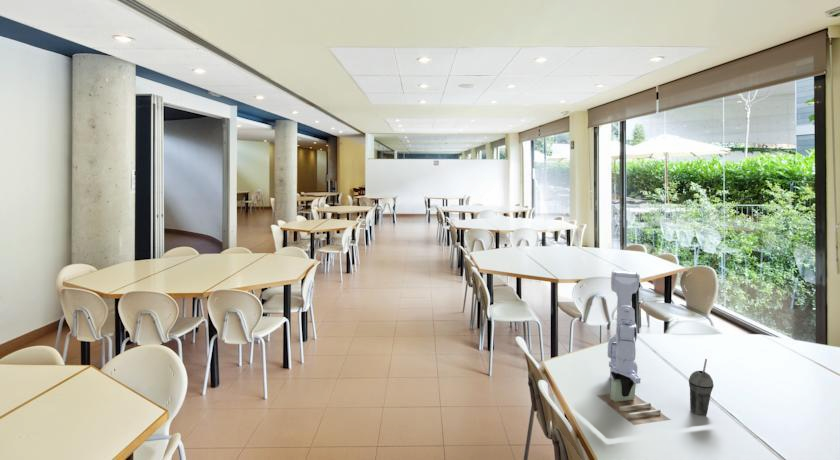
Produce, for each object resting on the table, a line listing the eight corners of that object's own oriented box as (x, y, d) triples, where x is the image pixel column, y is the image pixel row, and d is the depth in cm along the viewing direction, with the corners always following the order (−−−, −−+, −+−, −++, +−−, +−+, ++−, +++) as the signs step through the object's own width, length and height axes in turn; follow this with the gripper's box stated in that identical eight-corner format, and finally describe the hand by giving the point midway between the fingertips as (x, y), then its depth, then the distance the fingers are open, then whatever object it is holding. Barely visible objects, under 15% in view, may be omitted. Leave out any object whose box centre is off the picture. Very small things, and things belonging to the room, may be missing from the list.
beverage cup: (681, 410, 158) (685, 355, 156) (700, 409, 159) (705, 354, 157) (695, 421, 151) (700, 364, 149) (716, 420, 152) (721, 363, 149)
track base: (629, 394, 170) (630, 387, 169) (670, 422, 150) (670, 415, 150) (596, 398, 167) (596, 391, 166) (633, 428, 147) (634, 420, 147)
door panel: (629, 396, 165) (630, 377, 164) (634, 399, 163) (635, 380, 162) (610, 398, 163) (611, 380, 163) (614, 401, 161) (615, 383, 160)
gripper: (602, 350, 167) (600, 385, 169) (628, 367, 153) (626, 405, 155) (619, 349, 169) (617, 383, 171) (646, 365, 155) (644, 402, 157)
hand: (622, 393), depth 163 cm, fingers closed on door panel, 2 cm apart
